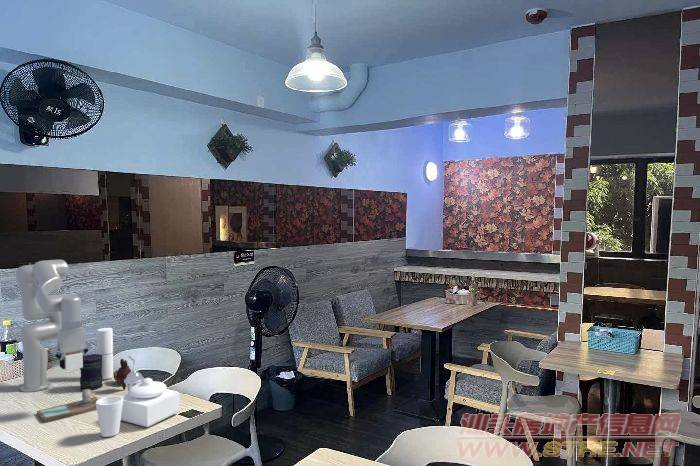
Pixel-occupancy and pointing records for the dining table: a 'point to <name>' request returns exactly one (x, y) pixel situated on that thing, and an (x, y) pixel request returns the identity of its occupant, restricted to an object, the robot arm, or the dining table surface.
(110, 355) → the cylindrical container
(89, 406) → the post stand
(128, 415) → the butter dish
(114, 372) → the hot dog
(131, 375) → the cup with straw
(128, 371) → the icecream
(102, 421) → the foam cup
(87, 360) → the storage jar
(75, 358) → the white cube with handle
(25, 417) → the dining table surface
